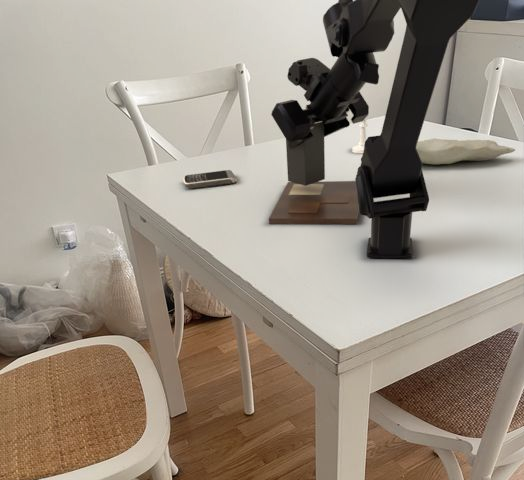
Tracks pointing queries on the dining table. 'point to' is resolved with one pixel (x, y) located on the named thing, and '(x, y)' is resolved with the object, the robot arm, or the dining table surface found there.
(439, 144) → the stone tool replica
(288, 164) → the dark grey rectangular block
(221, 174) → the cell phone
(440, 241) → the dining table surface
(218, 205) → the dining table surface
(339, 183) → the game board
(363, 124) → the chess piece
